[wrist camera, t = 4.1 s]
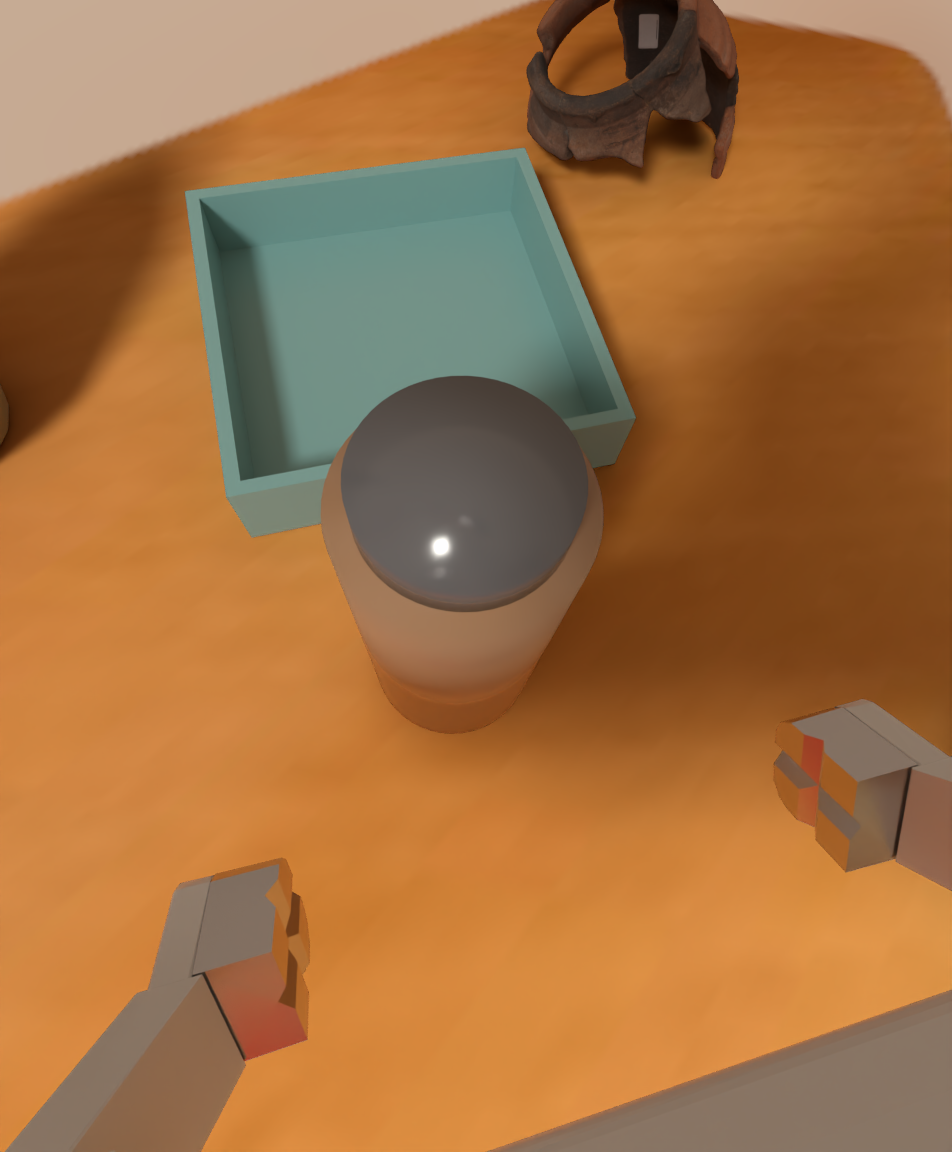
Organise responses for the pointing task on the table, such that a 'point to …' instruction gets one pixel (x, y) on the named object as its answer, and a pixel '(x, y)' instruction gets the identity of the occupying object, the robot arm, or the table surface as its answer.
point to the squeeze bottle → (3, 415)
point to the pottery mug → (638, 80)
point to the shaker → (460, 542)
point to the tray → (384, 314)
